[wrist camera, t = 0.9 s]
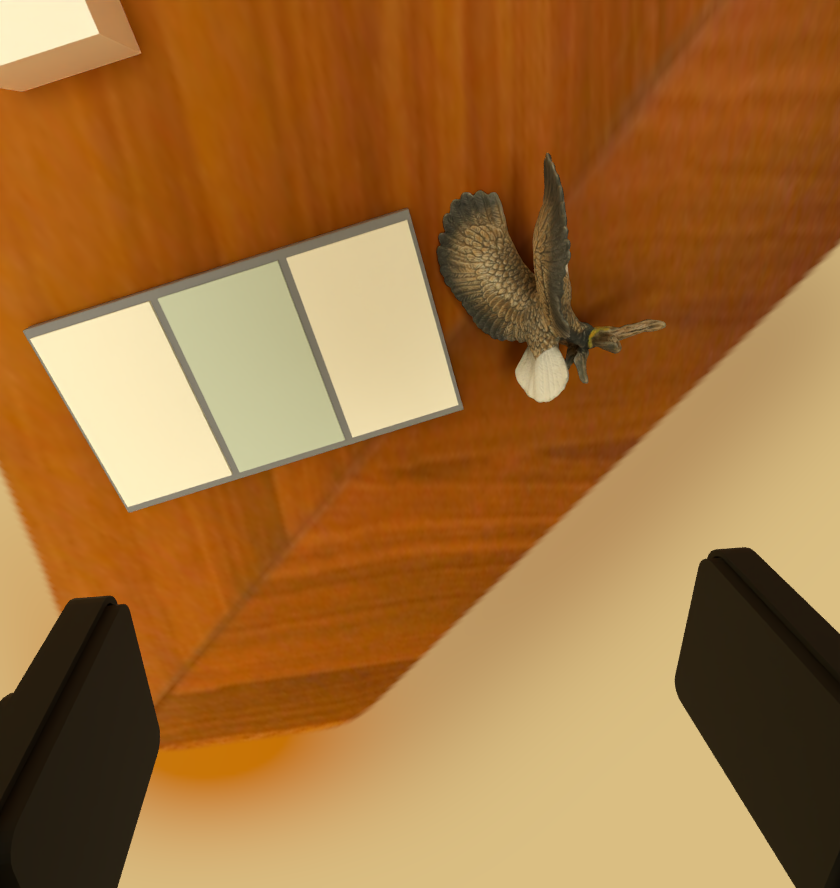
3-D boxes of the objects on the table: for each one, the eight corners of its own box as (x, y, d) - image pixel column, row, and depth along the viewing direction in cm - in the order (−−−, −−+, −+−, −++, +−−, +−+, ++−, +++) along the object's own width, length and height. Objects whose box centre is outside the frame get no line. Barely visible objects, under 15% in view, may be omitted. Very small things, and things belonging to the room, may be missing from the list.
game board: (406, 207, 29) (408, 209, 28) (460, 403, 33) (464, 410, 32) (30, 326, 29) (20, 331, 28) (133, 504, 33) (127, 514, 32)
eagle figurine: (665, 267, 30) (564, 112, 25) (669, 379, 26) (550, 221, 21) (530, 328, 35) (423, 207, 30) (515, 430, 31) (390, 311, 26)
